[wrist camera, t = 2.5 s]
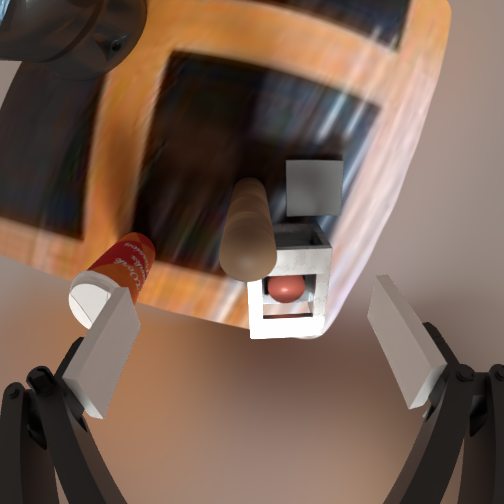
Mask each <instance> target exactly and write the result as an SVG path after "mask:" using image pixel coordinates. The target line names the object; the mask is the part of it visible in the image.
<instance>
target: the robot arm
mask: <svg viewBox="0 0 504 504" xmlns="http://www.w3.org/2000/svg"><path fill="white" fill-rule="evenodd" d="M146 15H147V10H146V4H145V0H0V60H8V61H9V60H10V61H11V60H12V61H28V62H39V63H41V64H42V65H44V66H45V67H46V68H48V69H49V70H50V71H51V72H52V73H53V74H54V75H56V76H58V77H60V78H63V79H67V80H76V81H84V80H90V79H94V78H97V77H99V76H101V75H103V74H105V73H107V72H109V71H110V70H112V69H113V68H115V67H116V66H117V65H118V64H120V63H121V62H122V61H123V60H124V59H125V58H126V57H127V56H128V55H129V53H130V52H131V51H132V50H133V48H134V47H135V45H136V44H137V42H138V40H139V38H140V36H141V34H142V32H143V29H144V26H145V22H146ZM367 317H368V319H369V321H370V323H371V325H372V327H373V330H374V332H375V334H376V336H377V338H378V340H379V342H380V344H381V346H382V349H383V351H384V353H385V355H386V357H387V359H388V362H389V364H390V366H391V368H392V371H393V373H394V375H395V377H396V380H397V382H398V384H399V387H400V389H401V391H402V394H403V396H404V399H405V401H406V403H407V406H408V408H409V409H411V408H415V407H419V406H422V405H424V403H425V402H426V400H427V398H428V397H429V400H430V402H431V405H430V406H429V408H428V409H427V411H426V412H425V414H424V415H423V417H425V419H424V421H423V424H422V426H421V429H420V432H419V434H418V436H417V438H416V441H415V443H414V445H413V448H412V450H411V452H410V454H409V456H408V458H407V460H406V462H405V465H404V467H403V469H402V471H401V472H400V474H399V477H398V478H397V480H396V482H395V484H394V486H393V487H392V489H391V491H390V493H389V494H388V496H387V498H386V500H385V501H384V503H383V504H440V502H441V500H442V498H443V495H444V493H445V491H446V488H447V486H448V483H449V480H450V478H451V475H452V473H453V470H454V467H455V464H456V461H457V458H458V455H459V452H460V449H461V446H462V442H463V439H464V454H463V467H462V475H461V484H460V491H459V497H458V503H457V504H504V365H501V364H495V365H494V366H492V367H491V369H490V370H489V372H484V373H482V372H474V370H473V369H472V368H471V367H469V366H467V365H465V364H460V363H459V362H458V360H457V358H456V357H455V355H454V354H453V352H452V351H451V349H450V348H449V346H448V345H447V343H445V340H444V338H443V337H441V334H440V332H439V331H438V330H437V328H436V327H434V326H433V325H432V324H430V323H429V322H426V323H421V321H420V320H419V318H418V317H417V315H416V314H415V313H414V311H413V309H412V308H411V306H410V305H409V304H408V302H407V301H406V299H405V298H404V296H403V295H402V294H401V292H400V291H399V289H398V288H397V287H396V285H395V284H394V282H393V281H392V280H391V279H390V277H389V276H388V275H382V276H375V281H374V287H373V292H372V297H371V302H370V307H369V312H368V316H367ZM140 328H141V325H140V322H139V319H138V317H137V314H136V311H135V307H134V304H133V301H132V298H131V295H130V291H129V288H128V287H116V288H115V290H114V291H113V293H112V295H111V296H110V298H109V299H108V301H107V302H106V304H105V305H104V307H103V308H102V310H101V312H100V313H99V315H98V316H97V318H96V320H95V321H94V323H93V324H92V326H91V328H90V329H89V331H88V333H87V334H86V336H85V337H79V338H78V339H77V340H76V341H75V342H74V343H73V344H72V346H71V347H70V349H69V350H68V352H67V354H66V355H65V358H64V359H63V361H62V362H61V364H60V366H59V367H58V369H57V371H56V373H55V375H54V376H53V374H52V373H51V371H50V370H49V368H47V367H45V366H38V367H36V368H34V369H33V370H31V371H30V372H29V374H28V376H27V379H26V382H27V384H28V385H29V386H30V388H31V389H27V390H26V389H25V388H24V387H23V385H22V384H21V383H19V382H14V383H11V384H10V385H9V386H7V388H6V389H5V391H4V394H3V400H2V407H1V415H0V504H59V498H58V492H57V487H56V478H55V470H54V466H55V469H56V472H57V475H58V478H59V480H60V483H61V485H62V488H63V490H64V493H65V495H66V498H67V500H68V502H69V504H127V502H126V501H125V499H124V497H123V496H122V494H121V492H120V491H119V489H118V487H117V485H116V484H115V482H114V480H113V478H112V476H111V474H110V472H109V470H108V469H107V467H106V465H105V463H104V461H103V459H102V457H101V454H100V452H99V451H98V448H97V446H96V444H95V441H94V439H93V437H92V435H91V432H90V430H89V428H88V425H87V423H86V420H85V418H84V417H83V415H82V414H83V411H84V409H85V410H86V412H87V413H88V414H89V415H90V416H91V417H96V418H101V419H104V418H105V415H106V412H107V409H108V406H109V404H110V401H111V398H112V396H113V393H114V391H115V388H116V385H117V383H118V380H119V378H120V375H121V373H122V370H123V368H124V365H125V363H126V361H127V358H128V356H129V353H130V351H131V348H132V346H133V344H134V341H135V339H136V337H137V335H138V332H139V330H140Z"/></svg>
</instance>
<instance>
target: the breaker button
mask: <svg viewBox="0 0 504 504" xmlns="http://www.w3.org/2000/svg"><path fill="white" fill-rule="evenodd" d="M267 281H268V291H269V294H270V296H271V297H272V298H273V299H274V300H275V301H277V302H280V303H291V302H294V301H296V300H298V299H299V298H300V297H301V296H302V295H303V293H304V291H305V282H304V279H303V275H282V276H267Z"/></svg>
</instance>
